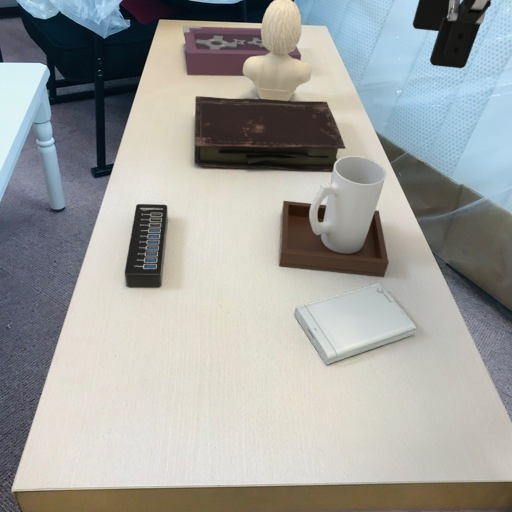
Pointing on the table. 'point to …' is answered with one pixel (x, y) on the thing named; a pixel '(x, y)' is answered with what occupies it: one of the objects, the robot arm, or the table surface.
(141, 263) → the multiport hub
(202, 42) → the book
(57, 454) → the table surface
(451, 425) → the table surface
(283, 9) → the figurine
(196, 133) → the diary
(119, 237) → the table surface
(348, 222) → the mug
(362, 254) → the shallow brown tray
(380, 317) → the hard drive
